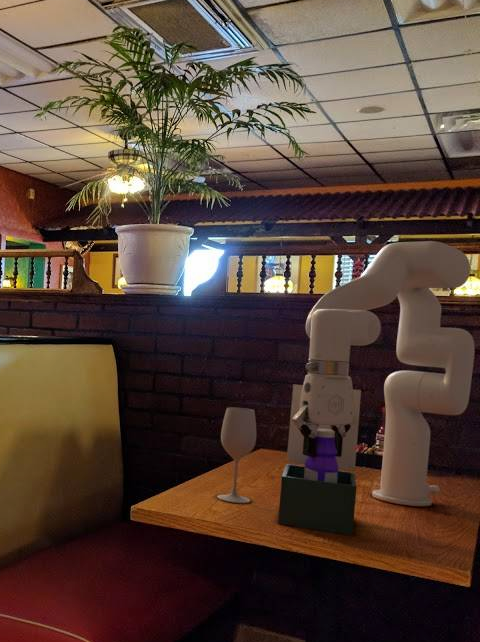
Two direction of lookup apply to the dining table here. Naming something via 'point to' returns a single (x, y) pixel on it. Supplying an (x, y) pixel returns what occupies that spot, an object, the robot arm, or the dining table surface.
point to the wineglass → (238, 442)
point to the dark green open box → (317, 501)
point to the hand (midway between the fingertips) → (322, 454)
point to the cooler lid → (296, 438)
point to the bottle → (323, 459)
